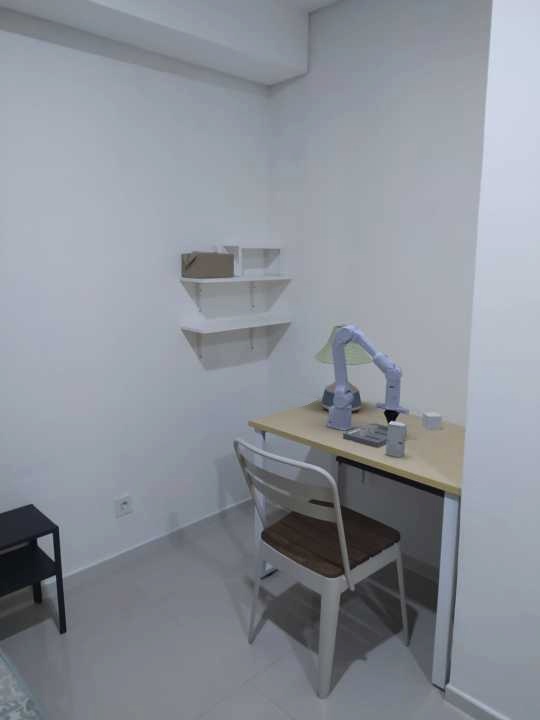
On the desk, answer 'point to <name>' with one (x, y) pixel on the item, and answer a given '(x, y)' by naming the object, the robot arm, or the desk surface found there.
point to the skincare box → (396, 439)
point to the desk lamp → (353, 357)
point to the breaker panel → (369, 435)
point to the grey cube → (432, 421)
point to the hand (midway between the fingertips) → (390, 427)
